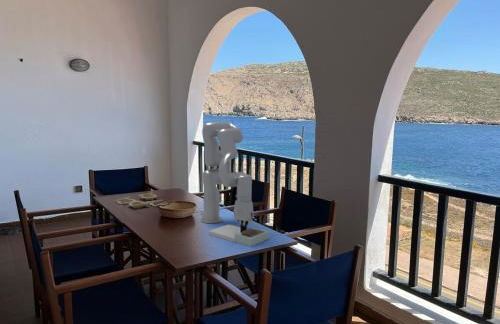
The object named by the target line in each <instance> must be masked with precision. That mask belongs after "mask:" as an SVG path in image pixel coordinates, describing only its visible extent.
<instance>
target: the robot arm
mask: <svg viewBox="0 0 500 324" xmlns="http://www.w3.org/2000/svg"><path fill="white" fill-rule="evenodd" d="M201 133H202V139H203V142H204V163H205V166H206V167H209V168H208V169H206V170H204V171H203V172H202V175H201V179H202V185H203V211H201V212H200V213H199V215H200V216H201V218H200V221H201V222H202V223H205V224H217V223H221V222H222V221H223V218H222V217H220V203H221V202H220V199H221V197H220V189H219V188H218V187H217V185H223V186H224V187H225V188H235V187H236V194H235V198H236V199H235V202H234V206H233V207H234V208H233V218H234V219H235V220H236V221H237V222H238V223H239V224H238V225H239V227H240V232H241V233H242V231H244V230H247V229H248V227H247V226H248V225H249V224H252V223H253V219H254V204H253V201H252V188H253V186H252V184H253V178H252V176H251V174H247V173H245V172H244V171H234V172H232V160H233V159H235V158H236V157H237V156H238V154H239V152H238V149H237V146H236V145H237V144H240V143H242V142H243V137H244V135H243V133H242V131H241V129H239V127H237V126H236V125H234V124H233V123H231V122H228V121H226V122H225V121H223V122H221V121H217V122H216V121H211V122H207V123H205V124H204V125H202V130H201ZM212 167H213V168H212ZM216 167H218V168H216Z"/></svg>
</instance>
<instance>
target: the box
mask: <svg viewBox="0 0 500 324" xmlns="http://www.w3.org/2000/svg"><path fill="white" fill-rule="evenodd" d="M251 229H253V230H255V231H256V232H258V233H260V234H259V235H256V236H254V237H251V238H250V237H247V236H243V235H240V234H235V242H234V243H238V244H242V245H245V246H249V247H253V246H256V245H257V244H260V243H262V242H264V241H267V240H269V235H270V234H269V233H270V232H269V230H265V229H261V228H257V227H251Z"/></svg>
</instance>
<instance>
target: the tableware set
mask: <svg viewBox="0 0 500 324" xmlns="http://www.w3.org/2000/svg"><path fill="white" fill-rule="evenodd" d="M138 196H139V197H141V199H143V200H144V199H145V200H144V201H140V200H136V199H131V197H128V196H127V197H124V198H120V199H116V200H115V202H116V204H118V205H129V206H130V207H133V208H132V209H142V208H143V207H144V206H146V205H148V204H149V205H150V206H151V205H152V206H151V207H159V206H158V205H159V204H158V205H154V204H153V203H154V202H159V201H164V200H163V199H157V200H152V199H155V198H157V196H158V195H157V194H154V192H148V193H142V194H138ZM124 200H132V201H130V202H125V203H121V201H124ZM146 200H151V201H146ZM141 207H142V208H141Z"/></svg>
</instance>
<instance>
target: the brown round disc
mask: <svg viewBox="0 0 500 324" xmlns="http://www.w3.org/2000/svg"><path fill="white" fill-rule="evenodd" d="M259 234H260V233H258V232H256V231H255V230H253V229H252V227H249V228H247V230H244V231H242V235H243V236H247V237H250V238H251V237H254V236H256V235H259Z"/></svg>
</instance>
